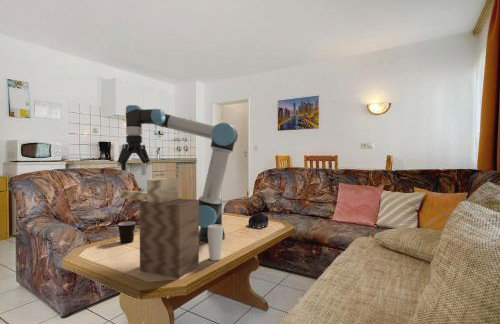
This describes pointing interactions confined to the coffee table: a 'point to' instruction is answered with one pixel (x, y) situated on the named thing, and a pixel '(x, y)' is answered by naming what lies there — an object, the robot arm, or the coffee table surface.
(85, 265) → the coffee table surface
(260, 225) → the black rounded lump
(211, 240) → the drinking glass
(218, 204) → the robot arm
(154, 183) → the stepped beige block
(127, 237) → the coffee mug
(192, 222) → the stand
